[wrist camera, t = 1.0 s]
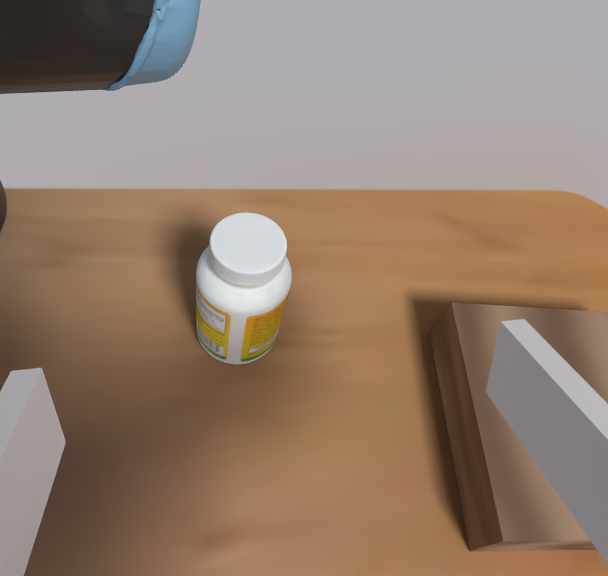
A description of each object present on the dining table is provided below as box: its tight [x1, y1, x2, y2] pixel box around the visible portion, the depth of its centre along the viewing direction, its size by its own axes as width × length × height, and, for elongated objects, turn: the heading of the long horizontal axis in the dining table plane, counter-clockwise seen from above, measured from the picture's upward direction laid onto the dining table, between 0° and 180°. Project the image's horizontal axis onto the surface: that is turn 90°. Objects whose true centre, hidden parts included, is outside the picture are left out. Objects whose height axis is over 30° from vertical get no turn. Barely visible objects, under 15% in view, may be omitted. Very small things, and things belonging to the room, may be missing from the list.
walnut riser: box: [429, 302, 608, 551], centre depth 32 cm, size 14×14×4 cm
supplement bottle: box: [196, 213, 292, 364], centre depth 30 cm, size 5×5×10 cm
